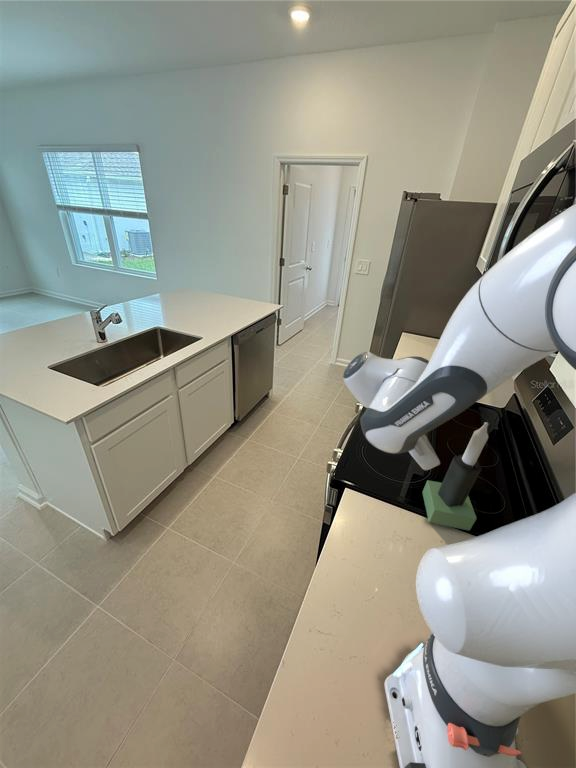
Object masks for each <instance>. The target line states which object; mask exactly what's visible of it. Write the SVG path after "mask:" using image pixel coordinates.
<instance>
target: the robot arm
mask: <svg viewBox="0 0 576 768" xmlns="http://www.w3.org/2000/svg"><path fill="white" fill-rule="evenodd" d="M556 352H558V353H559V354H560V355H561V357H562V358H563V359H564V360H565V361H566V362H567V363H568V365H570V366H571V368H573V369H574V370H575V371H576V203H574V204H573V205H571V206H570V207H568V208H567V209H565V210H563V211H562V212H561V213H559V214H558V215H556V216H554V217H553V218H552V219H550V220H549V221H547V222H546V223H544V224H543V225H541V226H540V227H539V228H537V229H535V231H533V232H532V233H530V234H529V235H528V236H527V237H526V238H525V239H523V240H522V241H520V242H519V243H518V244H517V245H516V246H514V247H513V248H512V249H511V250H510V251H508V252H507V253H506V254H505V255H503V256H502V257H501V258H500V259H499V260H498V261H497V262H495V263H494V265H492V266H491V267H490V268H489V269H488V270H487V271H486V272H485V273H484V274H483V275H482V276H481V277H480V278H479V279H478V280H477V281H476V282H475V283H474V284H473V285H472V286H471V287H470V289H469V290H467V292H466V293H465V295H464V296H463V298H462V299H461V301H460V302H459V303H458V305H457V306H456V308H455V309H454V310H453V312H452V315H450V318H449V320H448V321H447V323H446V325H445V327H444V329H443V331H442V334H441V336H440V338H439V340H438V342H437V344H436V346H435V349H434V351H433V353H432V355H431V357H430V359H429V360H428V359H426V358H424V357H422V356H415V355H414V356H406V357H401V358H397V359H396V358H394V359H393V358H385V357H381V356H379V355H376V354H374V353H373V352H371V351H364V352H361V353H360V354H358V355H356V356H354V358H353V359H352V360H351V361H350V363H348V365H347V366H346V368H345V369H344V371H343V375H342V380H343V382H344V384H345V386H346V387H347V389H348V390H349V392H350V393H351V394H352V396H353V397H354V398H355V399H356V400H357V401H358V403H359V404H360V405H361V406H362V407H364V408H365V411H364V412H363V413H362V415H361V416H360V418H359V421H360V422H359V423H360V426H361V427H360V428H361V430H362V433H363V434H362V435H363V437H364V438H365V440H366V441H367V442H368V443H369V445H371V446H372V447H374V448H375V449H377V450H379V451H381V452H383V453H386V454H390V455H398V454H399V455H400V454H405V453H409V454H410V456H411V457H412V458H413V460H414V461H415V462H416V463H417V464H418V465H419V467H420V468H421V469H422V470H424V471H429V470H431V469H434V468H435V467H438V466H440V465H441V461H440V459H439V456H438V455H437V453H436V451H435V450H434V447H433V446H432V444H431V442H430V441H429V439H428V437H427V435H426V434H428V433H430V432H432V431H433V430H435V429H437V428H438V427H440V426H441V425H443V424H445V423H447V422H448V421H451V420H452V419H453V418H455V417H458V415H460V414H461V413H463V412H464V411H466V410H468V409H469V408H470V407H471V406H473V405H474V404H475V403H477V402H478V401H480V400H481V399H482V398H484V397H485V396H487V395H488V394H489V393H491V392H492V391H494V390H495V389H497V388H498V387H499V386H500V385H502V384H504V383H505V382H506V381H508V380H509V379H511V378H513V377H514V376H516V375H517V374H520V373H521V372H523V371H524V370H526V369H527V368H529V367H530V366H532V365H534V364H535V363H537V362H539V361H541V360H543V359H544V358H546V357H549V356H551V355H552V354H554V353H556ZM415 593H416V599H417V604H418V608H419V610H420V613H421V616H422V618H423V620H424V622H425V624H426V625H427V627H428V629H429V630H430V632H431V633H430V634H429V635H428V638H427V639H426V642H425V644H423V642H421V643H420V644H419V645H418V646H417V647H416V648H415V649H414V650H412V651H410V652H409V653H408V654H406V656H405V658H404V659H403V660H402V662H401V664H400V666H399V667H398V668H397V669H396V670H395V671H393V673H391V674H390V675H388V676H387V677H386V678H385V680H384V692H385V697H386V702H387V707H388V712H389V718H390V723H391V728H392V734H393V739H394V745H395V749H396V754H397V761H398V765H399V768H528V767H527V765H526V764H525V763H524V762H523V761H522V760H521V759H517V756H519V755H522V751H520V750H519V749H517V748H516V747H517V746H516V735H519V731H520V729H519V724H520V720H521V718H522V715H524V714H525V713H527V712H528V711H529V710H531V709H532V708H534V707H536V706H538V705H540V704H543V703H547V702H550V701H554V700H557V699H561V698H565V697H568V696H572V695H575V694H576V491H575V492H573V493H572V494H570V495H569V496H568V497H566V498H565V499H563V500H561V502H559V503H557V504H555V505H553V506H552V507H549V508H547V509H545V510H543V511H540V512H538V513H535V514H533V515H530V516H527V517H525V518H521V519H519V520H517V521H514V522H511V523H508V524H506V525H503V526H500V527H498V528H496V529H493V530H491V531H489V532H486V533H482V534H480V535H478V536H475V537H472V538H469V539H466V540H461V541H458V542H454V543H448V544H444V545H440V546H439V545H438V546H435V547H431V548H429V549H428V550H427V551H426V552H425V553H424V554H423V555H422V557H421V560H420V561H419V564H418V567H417V571H416V576H415ZM393 694H395V697H396V698H394V696H393ZM393 722H394V723H393ZM396 725H397V726H396ZM394 726H395V727H396V728H395V729H394ZM395 731H396V732H397V733H396V734H395ZM398 731H399V732H398ZM397 734H398V735H397ZM396 735H397V737H398V739H396ZM399 737H400V738H399Z"/></svg>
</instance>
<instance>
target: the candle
mask: <svg viewBox="0 0 576 768" xmlns="http://www.w3.org/2000/svg"><path fill="white" fill-rule="evenodd" d="M488 426H489V423H488V422H486V421H485V422H484V423H483V425H482V426H481V427H480V428H478V429H476V430H474V431H473V433H472V436H471V438H470V440H469V442H468V443H467V447H466V449H465V450H464V453H463V454H459V455H455V456H453V458H452V460H451V462H450V464H449V467H448V468H447V472H446V473H445V476H444V477H443V480H442V482H441V483H442V484H441V487H440V489H439V491H438V495H439V496H440V497H441V499H442V500H443V501H444V503H445V504H446V505H447V506H449V507H453V506H457V505H463V504H464V502H465V500H466V498H467V496H469V494H470V492H471V491H472V488H473V486H474V484H475V483H476V481H477V479H478V478H479V475H480V474H481V471H482V470H483V467H482V466H481V465H480V462H479V460H478V459H479V457H480V455H481V454H482V451H483V449H484V447H485V445H486V444H487V442H488V439H489V433H488Z"/></svg>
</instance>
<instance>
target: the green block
mask: <svg viewBox="0 0 576 768" xmlns="http://www.w3.org/2000/svg"><path fill="white" fill-rule="evenodd" d="M441 484H442V482H440V481H434V480H429V479H428V480H426V482H425V485H424V487H423V490H422V492H421V493H422V497H423V501H424V506H425V512H426V516H427V521H428V523H431V524H434V525H439V526H444V527H450V528H454V529H457V530H458V529H459V530H464V531H469V532H470V531H471V529H472V527H473V526H474V524H475V522H476V521H477V515H476V513H475V510H474V507H473V505H472V502H471V499H470V496H469V495H468V496H467V498H466V500H465V502H464V504H463V505H457V506H453V507H449V506H447V505H446V504H445V503H444V501H443V500H442V499H441V497H440V496H439V495H438V491H439V489H440V487H441Z"/></svg>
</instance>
